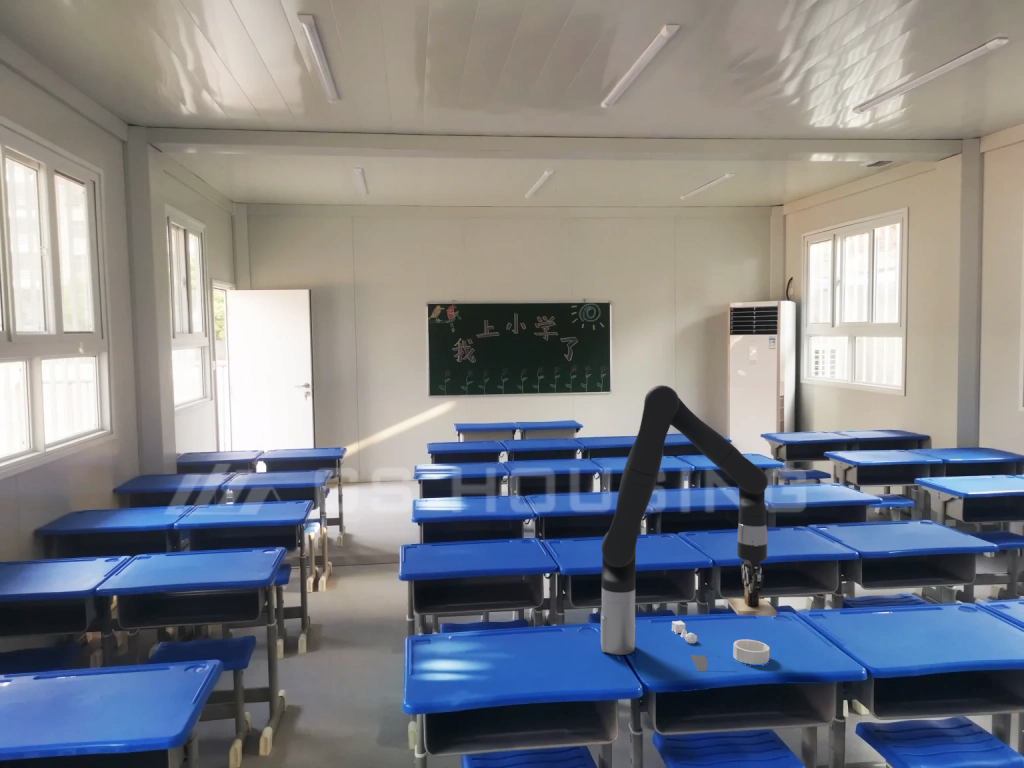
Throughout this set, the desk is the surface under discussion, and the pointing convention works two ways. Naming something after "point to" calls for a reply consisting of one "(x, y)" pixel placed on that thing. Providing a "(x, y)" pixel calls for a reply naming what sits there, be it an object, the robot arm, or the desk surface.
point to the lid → (743, 607)
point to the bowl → (751, 651)
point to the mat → (699, 662)
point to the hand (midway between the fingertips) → (751, 604)
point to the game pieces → (683, 632)
